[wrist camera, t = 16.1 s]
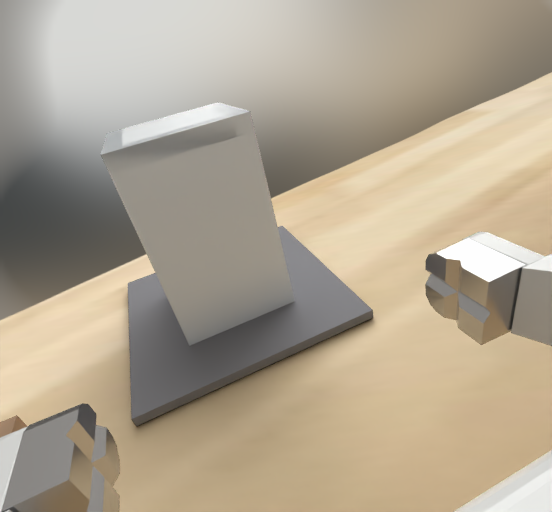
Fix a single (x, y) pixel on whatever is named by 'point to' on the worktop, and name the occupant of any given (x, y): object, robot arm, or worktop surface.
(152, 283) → the rubber mat
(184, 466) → the worktop surface
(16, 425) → the square wooden plinth
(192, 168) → the sleeve lid
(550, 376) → the worktop surface
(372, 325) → the worktop surface
